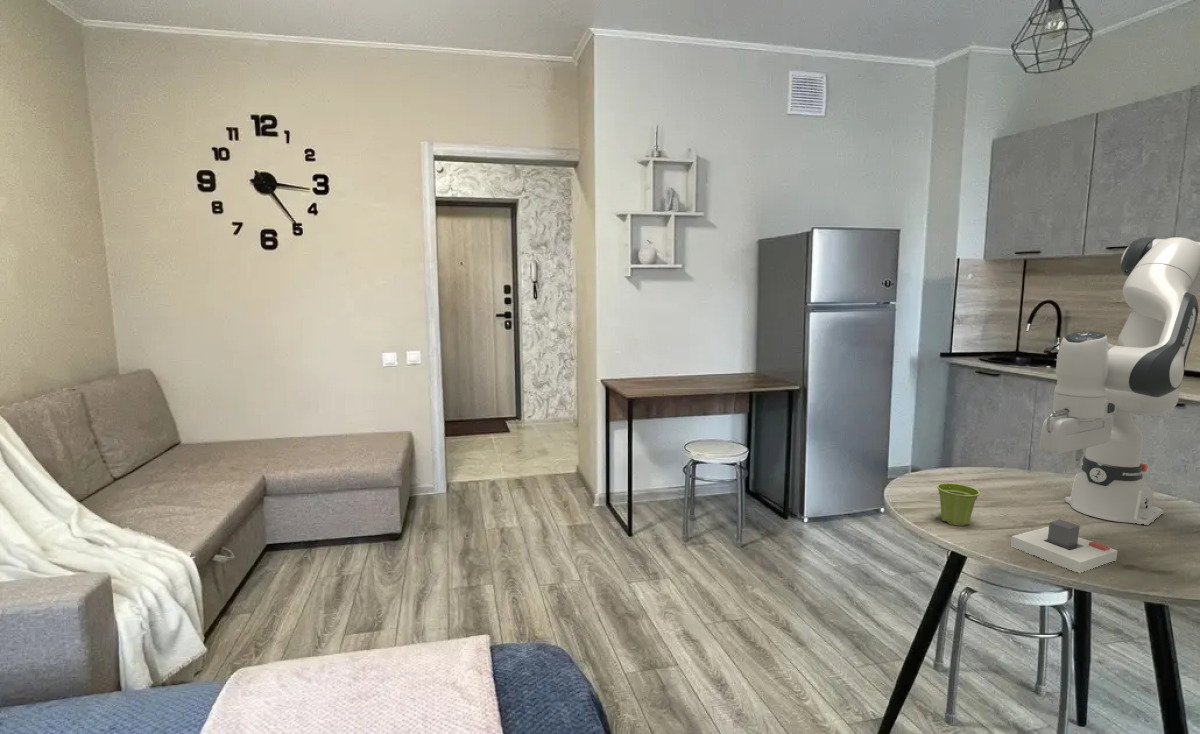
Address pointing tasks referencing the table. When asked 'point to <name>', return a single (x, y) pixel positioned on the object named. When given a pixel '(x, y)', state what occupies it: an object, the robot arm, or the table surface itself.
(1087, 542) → the socket plate
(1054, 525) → the plug
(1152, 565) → the table surface
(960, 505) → the plant pot
